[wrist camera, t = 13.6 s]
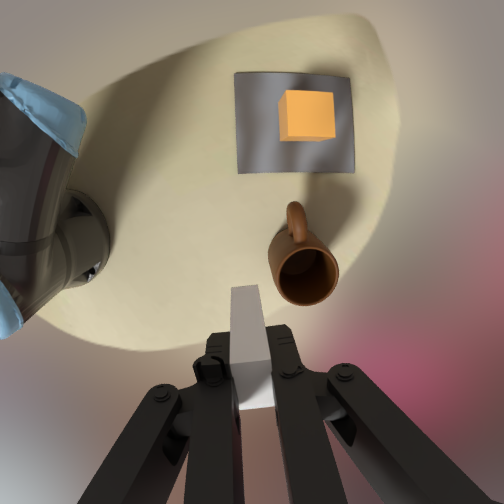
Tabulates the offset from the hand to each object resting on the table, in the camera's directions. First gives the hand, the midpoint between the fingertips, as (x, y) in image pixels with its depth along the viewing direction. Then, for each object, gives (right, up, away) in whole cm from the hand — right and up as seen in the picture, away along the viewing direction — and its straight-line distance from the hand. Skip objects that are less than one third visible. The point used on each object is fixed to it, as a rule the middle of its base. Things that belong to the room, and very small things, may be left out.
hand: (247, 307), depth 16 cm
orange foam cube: (+6, +20, +17) cm, 27 cm away
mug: (+6, +5, +23) cm, 25 cm away
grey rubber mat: (+6, +20, +18) cm, 28 cm away
